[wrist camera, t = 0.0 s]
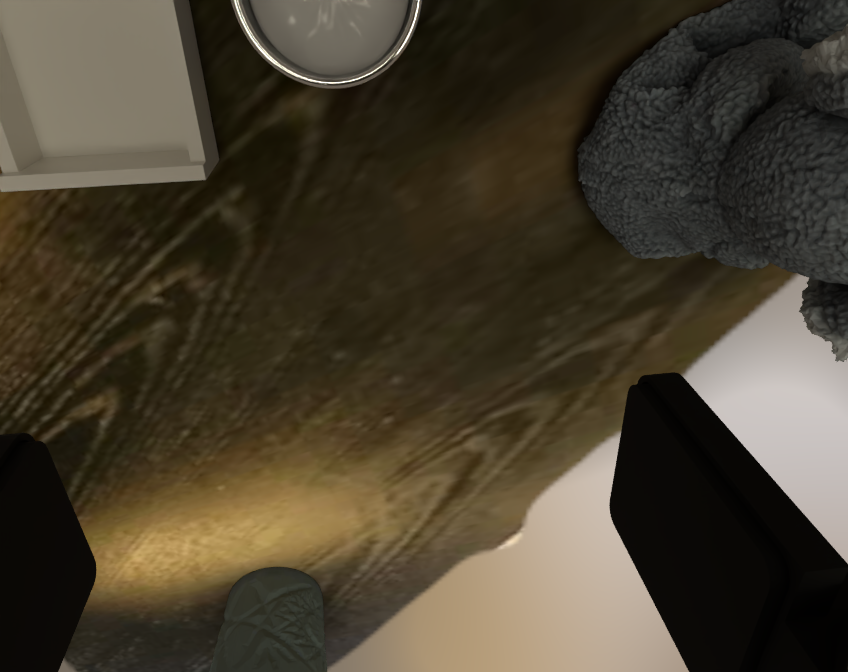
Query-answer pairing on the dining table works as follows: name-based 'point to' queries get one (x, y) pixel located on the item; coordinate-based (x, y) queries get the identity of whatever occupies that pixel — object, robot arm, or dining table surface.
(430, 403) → the dining table surface
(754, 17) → the koala plush
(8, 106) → the white open box
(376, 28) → the beer glass
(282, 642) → the dark green cup
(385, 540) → the dining table surface
